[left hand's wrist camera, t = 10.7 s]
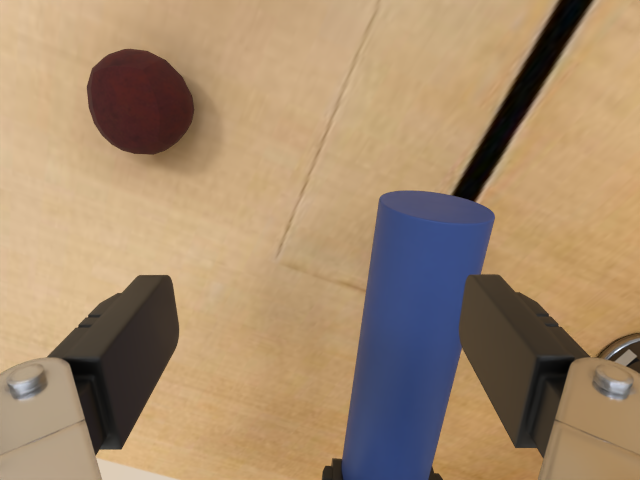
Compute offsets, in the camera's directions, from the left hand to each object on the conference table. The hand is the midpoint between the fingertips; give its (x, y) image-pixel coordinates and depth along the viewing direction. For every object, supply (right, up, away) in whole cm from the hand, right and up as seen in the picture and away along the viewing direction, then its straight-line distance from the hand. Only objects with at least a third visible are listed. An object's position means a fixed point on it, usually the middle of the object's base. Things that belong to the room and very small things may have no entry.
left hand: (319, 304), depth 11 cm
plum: (-14, +14, +24) cm, 31 cm away
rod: (+5, -6, +18) cm, 20 cm away
